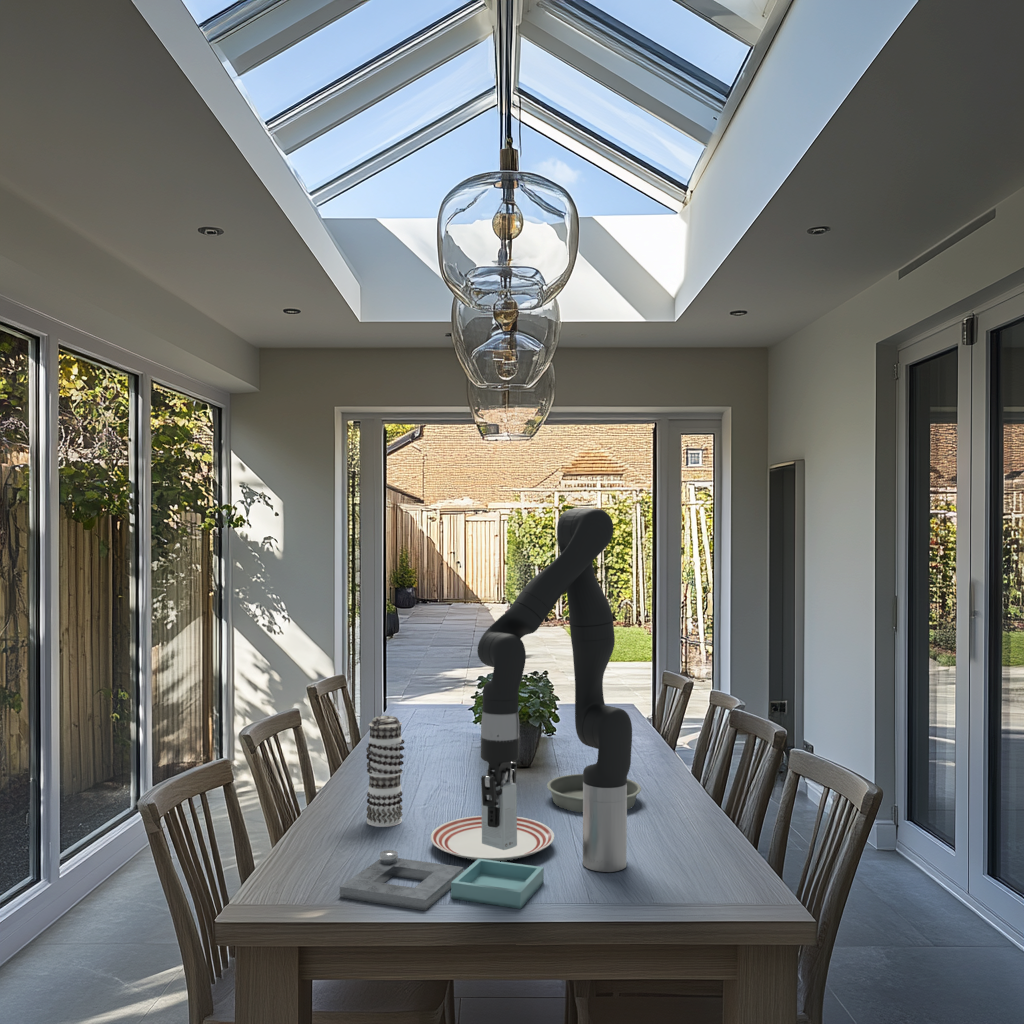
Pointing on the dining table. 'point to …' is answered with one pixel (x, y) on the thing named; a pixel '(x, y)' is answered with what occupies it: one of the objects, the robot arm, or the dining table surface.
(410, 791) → the dining table surface
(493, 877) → the tray
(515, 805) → the skincare box
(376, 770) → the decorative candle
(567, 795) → the cake pan
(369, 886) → the socket block
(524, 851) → the dinner plate
